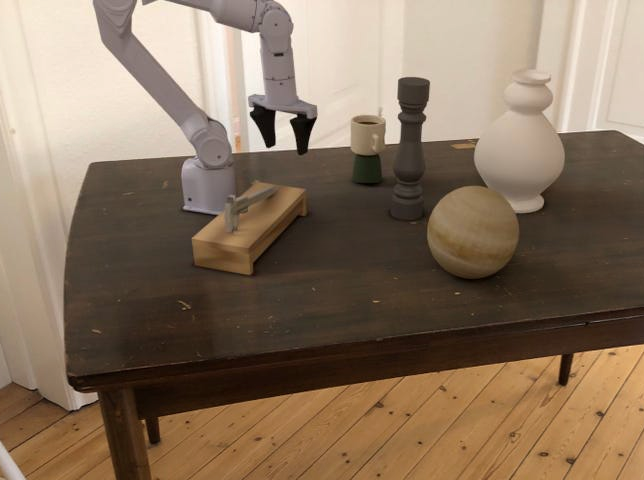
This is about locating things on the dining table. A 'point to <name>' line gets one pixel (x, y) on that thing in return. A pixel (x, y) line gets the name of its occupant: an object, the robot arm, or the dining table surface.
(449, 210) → the decorative ball
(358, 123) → the character mug
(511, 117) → the decorative vase
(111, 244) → the dining table surface
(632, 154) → the dining table surface
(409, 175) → the candle holder
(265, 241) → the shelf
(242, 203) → the caliper
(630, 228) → the dining table surface
